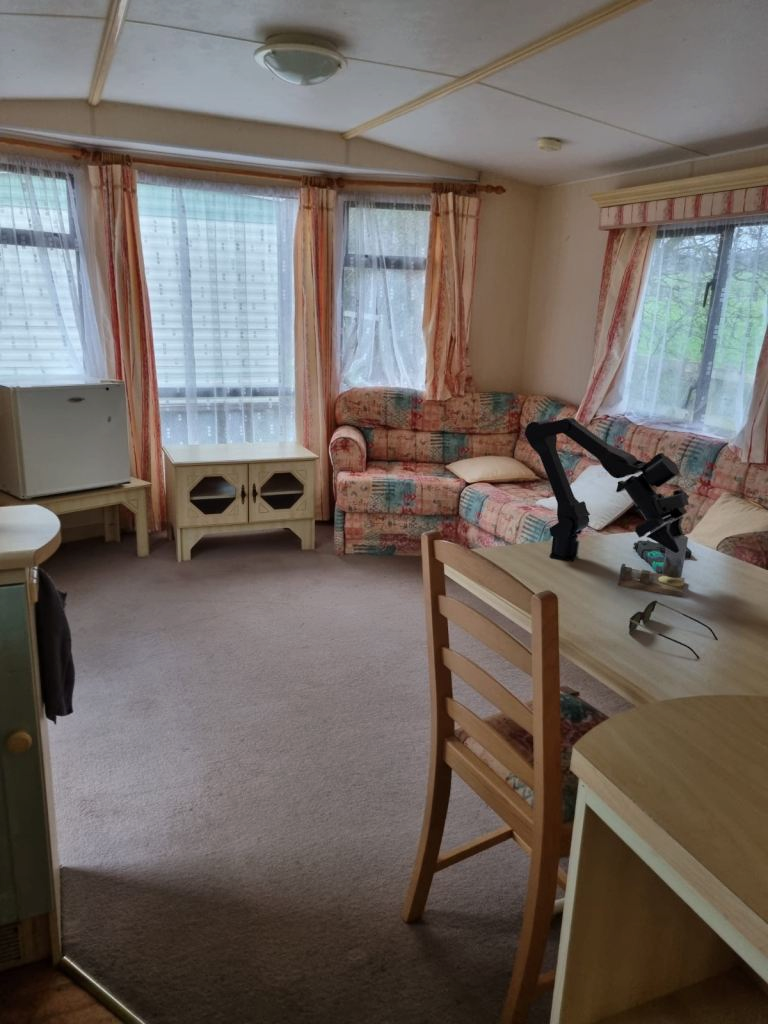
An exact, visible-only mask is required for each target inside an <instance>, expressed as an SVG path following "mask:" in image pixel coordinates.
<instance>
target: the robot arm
mask: <svg viewBox="0 0 768 1024" xmlns="http://www.w3.org/2000/svg"><path fill="white" fill-rule="evenodd" d="M561 434H563V435H565V436H566V437H567V438H569V439H570V440H572V441H573V442H574V443H576V444H577V445H579V446H580V447H581V448H583V449H584V450H585V451H587V452H588V453H590V454H591V455H592V456H594V457H595V458H596V460H598V461H599V463H600V464H601V466H602V468H603V469H604V470H605V471H606V472H607V474H609V475H610V476H611V477H612V478H615V479H622V478H625V477H628V478H627V479H625V480H618V481H617V487H616V489H615V492H616V493H621V492H623V491H625V492H626V493H627V494H628V496H629V497H630V499H631V500H632V502H633V503H634V505H635V507H634V508H633V509H634V511H636V512H638V511H639V513H641V515H642V516H643V517H644V519H645V520H643V521H642V522H641V523H639V524H638V525H636V526H635V530H634V533H636V535H637V536H638V539H639V538H642V537H645V536H646V538H647V539H651V540H652V541H654V542H655V543H660V544H661V545H663V546H665V547H666V548H668V549H670V550H671V551H673V552H675V553H677V552H679V548H678V546H677V544H676V542H675V541H674V539H673V537H672V535H671V534H681V535H684V533H683V530H682V526H681V525H682V521H683V519H684V515H685V514H687V513H688V511H687V509H686V508H685V507H686V506H689V505H690V503H689V500H688V499H689V498H690V495H689V494H688V493H687V491H684V490H683V489H682V488H680V489H676V490H674V491H673V493H672V494H671V495H669V496H664V495H663V494H662V493H661V492H659V493H657V492H656V490H655V489H654V487H657V488H661V487H663V485H665V484H667V483H668V482H670V481H671V480H672V479H674V478H676V477H677V476H678V475H679V474H680V469H679V468H678V466H677V464H676V462H675V461H674V460H672V459H671V458H670V457H668V456H667V455H665V454H664V452H660V453H659V452H658V454H656V455H654V457H653V458H652V459H650V460H649V461H648V462H646V461H642V460H639V459H637V457H636V456H635V455H633V454H632V453H629V452H628V451H625V450H623V449H622V448H617V447H615V446H612V445H610V444H608V443H607V442H606V441H604V440H603V439H602V438H600V436H597V435H596V434H595V433H593V432H592V431H591V430H590V429H588V428H586V427H585V426H584V425H582V424H581V423H580V422H579V421H577V419H575V418H574V417H569V416H568V417H564V418H561V419H558V420H553V421H550V420H546V419H544V420H536V421H531V422H530V423H528V424H527V426H525V430H524V436H525V439H526V440H527V443H528V444H529V446H530V447H531V448H532V450H534V451H535V452H536V453H537V454H538V456H539V457H540V462H541V463H542V466H543V469H544V471H545V473H546V477H547V479H548V483H549V484H550V487H551V490H552V492H553V495H554V498H555V500H556V504H557V507H556V508H557V509H556V516H557V517H556V518H557V523H555V524H554V525H552V527H550V528H549V534H550V537H552V541H551V542H552V543H551V550H550V551H551V552H550V554H549V558H552V557H553V559H558V558H559V559H558V560H564V559H566V560H565V561H569V560H573V561H574V560H575V559H576V558H577V557H578V555H579V549H580V540H578V538H579V535H581V534H582V531H583V530H584V529H586V528H587V527H588V525H589V523H590V517H589V516H590V515H591V513H590V512H589V511H588V509H587V505H586V502H585V500H583V501H579V500H577V498H576V497H575V494H574V493H573V490H572V487H571V484H570V482H569V479H568V477H567V474H566V471H565V468H564V466H563V464H562V460H561V458H560V456H559V453H558V450H557V440H558V438H557V435H561ZM638 473H641V474H639V475H638V476H636V474H638ZM629 476H630V477H629ZM648 533H649V534H648ZM646 534H648V535H646ZM574 558H575V559H574Z"/></svg>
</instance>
